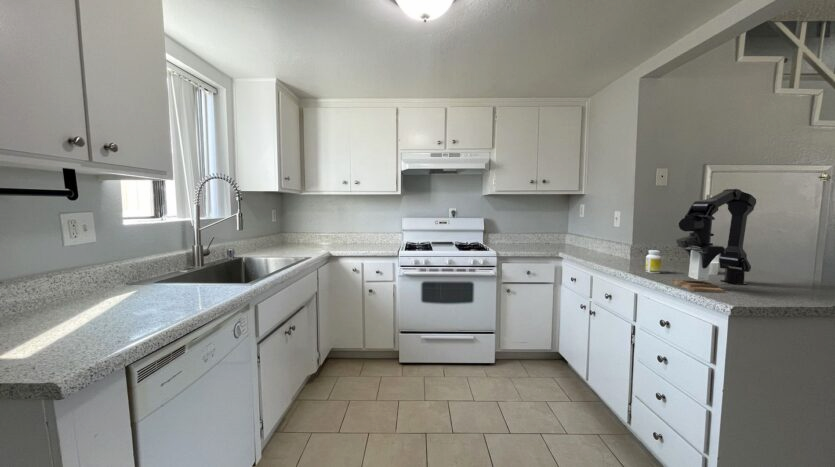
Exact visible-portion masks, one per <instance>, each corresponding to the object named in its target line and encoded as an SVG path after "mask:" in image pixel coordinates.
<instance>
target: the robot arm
mask: <svg viewBox="0 0 835 467" xmlns="http://www.w3.org/2000/svg"><path fill="white" fill-rule="evenodd" d="M725 204H726V205H727V210H728V211H729V213H730V215H731V217H730V226H729V233H728V238H727V246H726V247H724V246H721V245H717V244H715V245H714V243H713V242H711V237H714V236H715V233H712V227H713V225H712V223H713V221H715V220H716V218H715V217H714V216H713V215H715V214H716V213H717V212H718V211H719V208H720V207H721V206H723V205H725ZM756 205H757V199H756V198H755V197H754V196H753V195H752V194H751V193H747V192H746V191H745V192H744V191H742V190H741V189H739V188H726V189H723V190H722V191H721V192H719V193H717V194H715V195H713V196H712V197H709V198H707V199H701V200H695V201H694V202H692V204H691V206H690V207H689V208H688V209H689V210H687V212H686V214H685V215H684V217H683V218H681V220H680V221H679V222H678V228H679V230H681V231H683V232H690V233H689V235H688V236H684V237H681V238H677V239H676V241H675V242H676V243H677V247H678V248H682V249H683V250H684V251H685V252H686V253H688V255H689V256H688V257H690V256H691V250H701V251H702V252H699V253H700V254H701V255H702V267H703V268H707V267H708V265H709V264H710V263H711V262H712V260H713V259H714V258H715V257H716V256H717V255H719V262H718V263H719V268H720V269H724V279H720V281H721V282H724V283H726V284H729V285H743V286H744V285H745V286H747V285H748V283H747V282H745V273H746V272H747V273H749V272H751V269H752V265H751V264H750V261H749V260H748V258H747V257H748V254H747V252H746V251H745V250H744V241H745V240H744V239H745V232H746V229H747V228H746V226H747V222H748V216H749V215H750V214H751V213H752V212H753V211H754V210H755V206H756Z"/></svg>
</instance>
